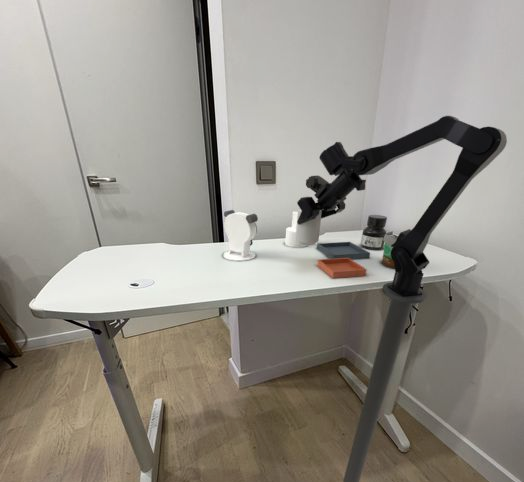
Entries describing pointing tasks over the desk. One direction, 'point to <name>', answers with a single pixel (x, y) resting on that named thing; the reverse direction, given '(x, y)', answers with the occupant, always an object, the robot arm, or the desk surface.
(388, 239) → the food container
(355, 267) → the terracotta tray
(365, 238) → the ink bottle
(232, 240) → the panda figurine
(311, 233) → the can
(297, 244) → the white stepped part
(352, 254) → the grey tray
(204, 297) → the desk surface
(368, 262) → the desk surface
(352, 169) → the robot arm
